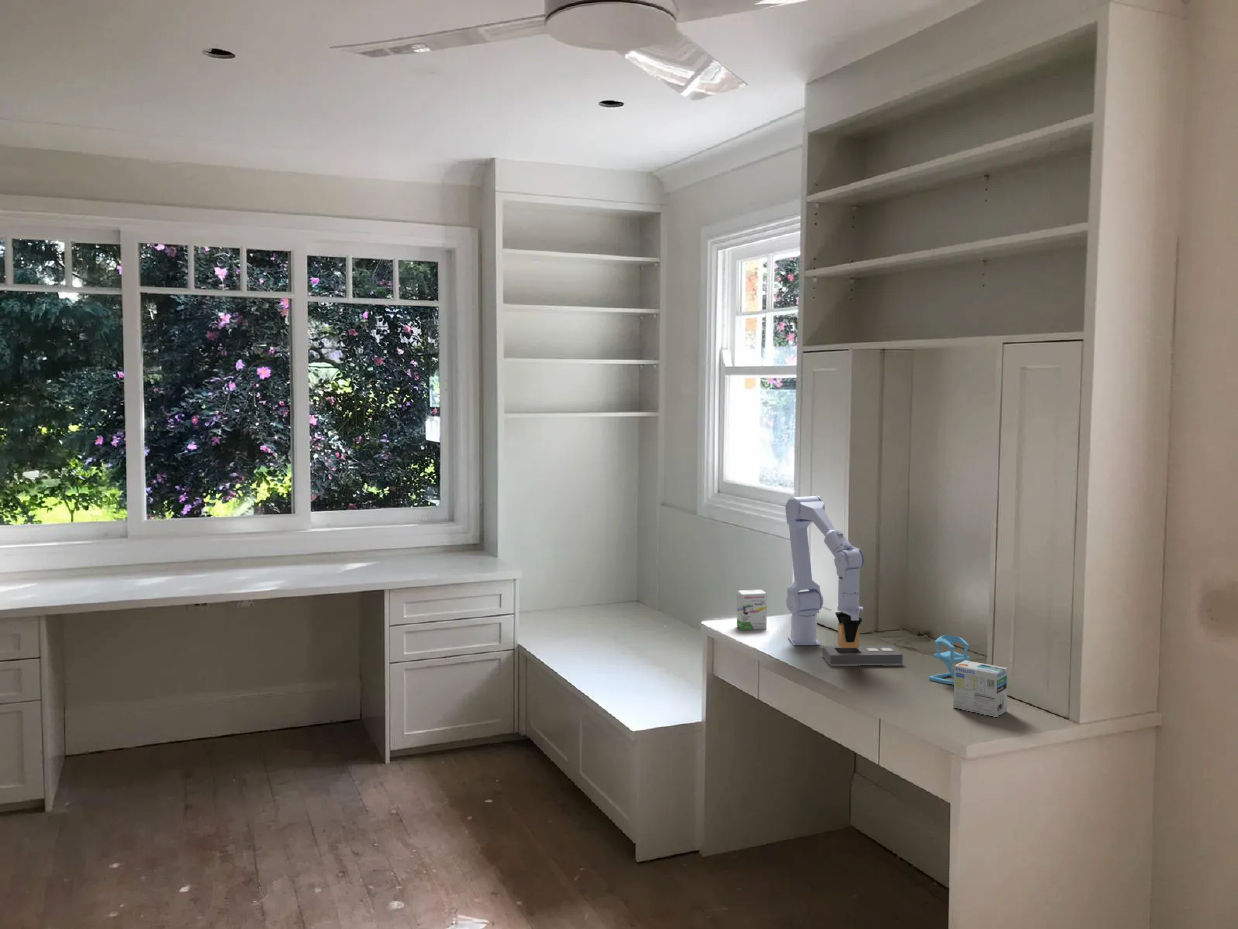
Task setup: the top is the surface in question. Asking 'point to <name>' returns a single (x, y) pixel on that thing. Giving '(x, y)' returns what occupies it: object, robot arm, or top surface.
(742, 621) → the ink box
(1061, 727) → the top surface
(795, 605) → the robot arm
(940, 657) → the chair
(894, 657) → the power strip
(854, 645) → the plug block
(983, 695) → the light bulb box
